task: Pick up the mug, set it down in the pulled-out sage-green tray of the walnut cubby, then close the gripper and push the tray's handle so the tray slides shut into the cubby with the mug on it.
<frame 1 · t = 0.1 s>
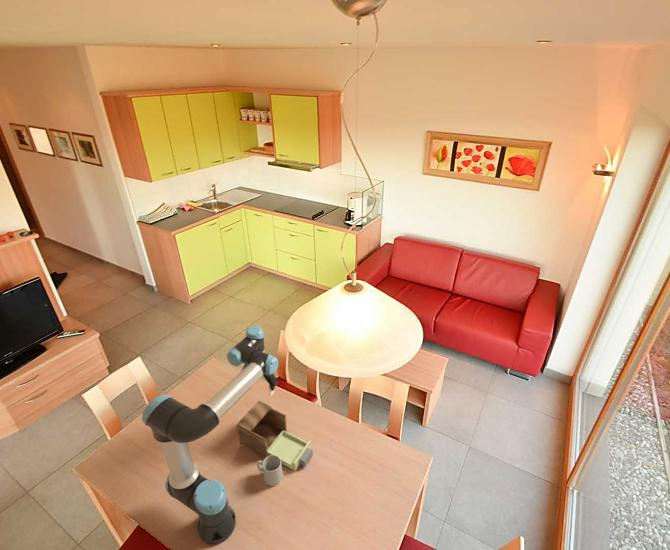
hand: (260, 388, 192), 28 cm above the table, fingers open, 13 cm apart
tray: (291, 449, 190), point 3 cm above the table, slide at 14.5 cm
cubby: (264, 438, 199), on the table
mug: (269, 476, 182), on the table
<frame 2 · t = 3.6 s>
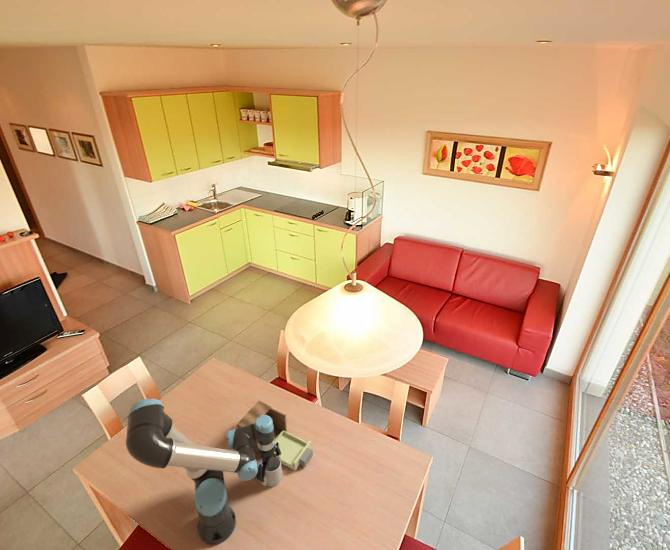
hand: (270, 475, 181), 0 cm above the table, fingers closed on mug, 8 cm apart
mug: (269, 477, 181), on the table, touching gripper
everything else where it was.
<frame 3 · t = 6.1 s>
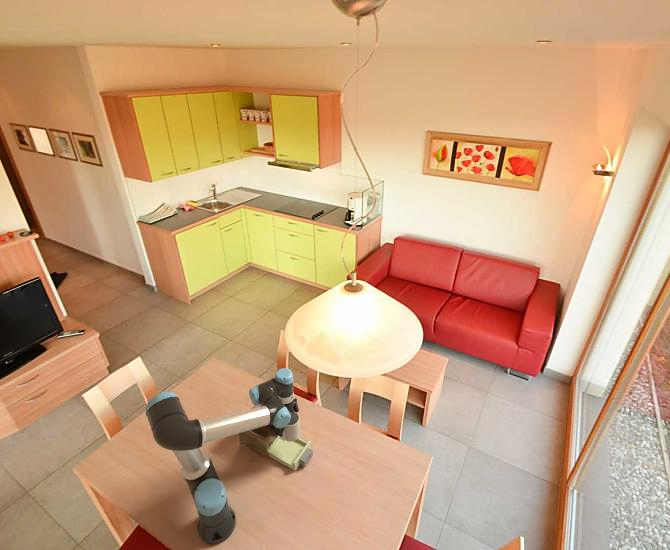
hand: (288, 432, 185), 15 cm above the table, fingers closed on mug, 8 cm apart
mug: (287, 433, 185), point 15 cm above the table, touching gripper
everything else where it was.
when the fingers open (4 cm above the table, at t = 8.6 s): mug drops 2 cm, resting on tray.
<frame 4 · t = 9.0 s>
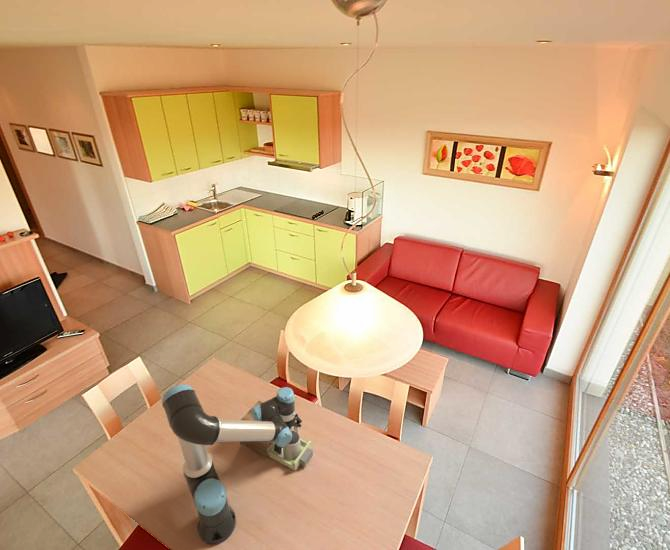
hand: (289, 445, 190), 5 cm above the table, fingers open, 13 cm apart
tray: (291, 449, 190), point 3 cm above the table, slide at 14.5 cm, touching mug
mug: (289, 451, 192), point 1 cm above the table, touching tray
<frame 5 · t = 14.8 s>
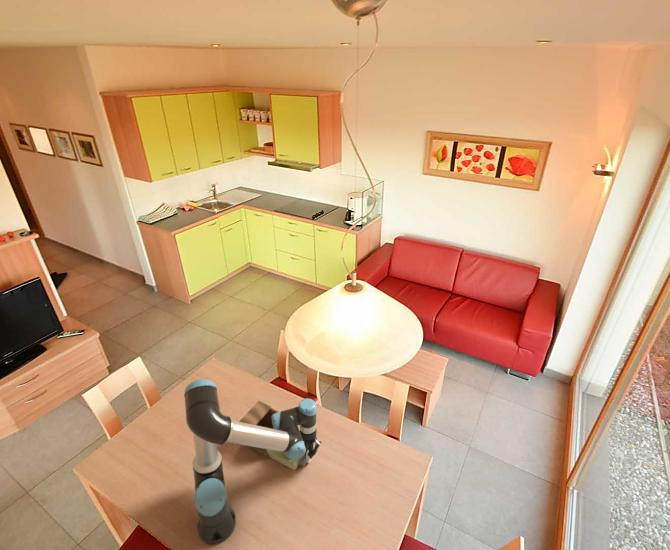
hand: (309, 460, 187), 2 cm above the table, fingers closed
tray: (290, 448, 191), point 3 cm above the table, slide at 13.9 cm, touching gripper, mug
everything else where it was.
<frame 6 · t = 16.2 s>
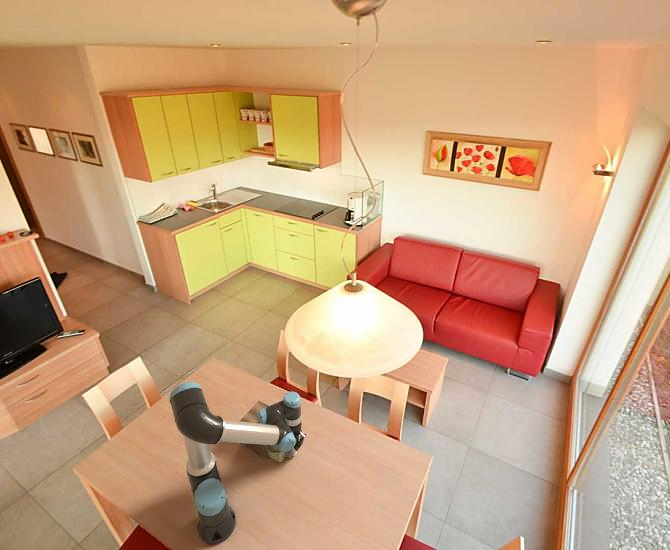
hand: (295, 453, 190), 2 cm above the table, fingers closed
tray: (277, 441, 194), point 3 cm above the table, slide at 5.8 cm, touching gripper, mug
mug: (274, 444, 195), point 1 cm above the table, touching tray
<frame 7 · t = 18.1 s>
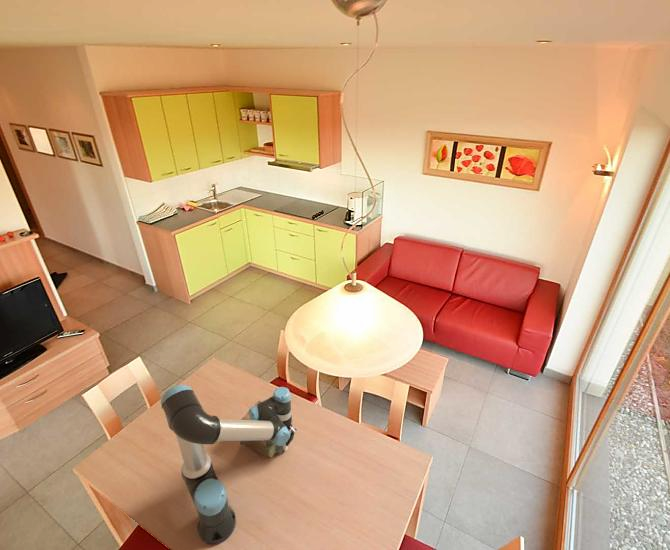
hand: (285, 448, 192), 2 cm above the table, fingers closed
tray: (268, 436, 196), point 3 cm above the table, slide at 0.3 cm, touching gripper, mug
mug: (265, 439, 197), point 1 cm above the table, touching tray
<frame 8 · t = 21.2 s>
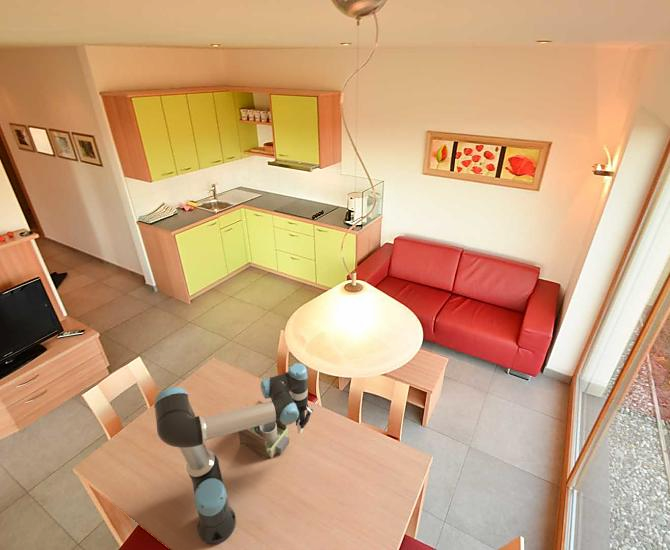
hand: (300, 431, 179), 20 cm above the table, fingers closed
tray: (268, 437, 196), point 3 cm above the table, slide at 0.6 cm, touching mug
everything else where it was.
at the end: tray slide at 0.6 cm; mug inside the target area (2.9 cm from its centre), point 1.2 cm above the table; mug tilted 0° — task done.
